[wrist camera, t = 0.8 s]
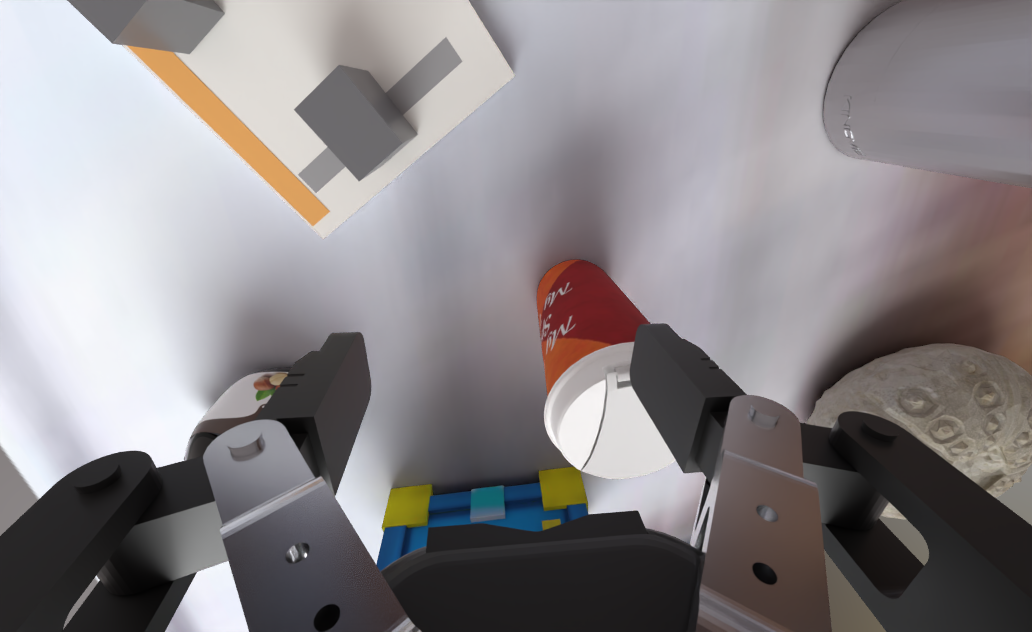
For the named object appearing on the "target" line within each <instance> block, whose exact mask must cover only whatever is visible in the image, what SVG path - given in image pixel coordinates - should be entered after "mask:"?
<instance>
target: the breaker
mask: <svg viewBox="0 0 1032 632" xmlns="http://www.w3.org/2000/svg"><path fill="white" fill-rule="evenodd" d="M68 1H69V2H70V3H71V4H72V5H73V6H74V7H75V8H76V9H77V10H78V11H79V12H80V13H81V14H82V15H83V16H84V17H85V18H86V19H87V20H88V21H89V22H91V23H92V24H93V25H94V26H95V27H96V28H97V29H98V30H99V31H100V32H101V33H102V34H103V35H104V36H105V37H106V38H107V39H108V40H109V41H110V42H111V43H112V44H120V45H127V46H134V47H141V48H148V49H155V50H163V51H170V52H177V53H184V54H190V53H191V52H192V51H193V50H194V49H195V48H196V47H197V45H198V44H199V43H200V42H201V41H202V40H203V38H204V37H205V36H206V35H207V34H208V33H209V32H210V30H211V29H212V28H213V27H214V26H215V25H216V24H217V22H218V21H219V20H220V19H221V18H222V17H223V15H224V14H225V13H224V12H223V10H222V9H221V8H220V7H219V6H218V5H217V4H216V3H215V1H214V0H68Z"/></svg>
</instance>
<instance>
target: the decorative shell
mask: <svg viewBox="0 0 1032 632" xmlns="http://www.w3.org/2000/svg"><path fill="white" fill-rule="evenodd" d="M847 411H858V412H864V413H869V414H873V415H876V416H879V417H882V418H884V419H886V420H889V421H891V422H893V423H895V424H897V425H899V426H900V427H902V428H904V429H905V430H906V431H908V432H909V433H911V434H912V435H913V436H914V437H916V438H917V439H918V440H920V441H921V442H922V443H924V444H925V445H926V446H928V447H929V448H930V449H932V450H933V451H934V452H936V453H937V454H938V455H939V456H941V457H942V458H943V459H945V460H946V461H947V462H949V463H950V464H951V465H953V466H954V467H955V468H957V469H958V470H959V471H960V472H962V473H963V474H964V475H966V476H967V477H968V478H970V479H971V480H972V481H974V482H975V483H976V484H978V485H979V486H980V487H982V488H983V489H984V490H985V491H987V492H988V493H989V494H991V495H992V496H993V497H995V498H996V497H998V496H1000V495H1001V494H1003V493H1004V492H1005V491H1007V490H1008V489H1009V488H1010V487H1012V486H1013V484H1014V483H1016V482H1021V476H1022V475H1024V474H1025V472H1026V471H1027V468H1028V467H1029V466H1030V465H1031V464H1032V376H1031V375H1030V374H1029V373H1028V372H1027V371H1025V370H1024V369H1023V368H1022V367H1020V366H1018V365H1017V364H1015V363H1014V362H1012V361H1010V360H1009V359H1007V358H1006V357H1004V356H1000V355H997V354H993V353H989V352H986V351H984V350H981V349H978V348H975V347H970V346H965V345H959V344H953V343H946V344H938V343H936V344H928V345H924V346H919V347H912V348H905V349H902V350H900V351H898V352H896V353H893V354H890V355H887V356H883V357H880V358H876V359H875V360H874V361H872V362H870V363H868V364H865V365H864V366H863V367H861V368H858V369H855V370H853V371H851V372H849V373H848V374H846V375H845V376H844V377H843V378H842V379H841V380H839V381H838V382H836V384H835V385H833V386H832V387H831V388H830V389H828V390H825V391H824V393H823V395H822V397H821V398H820V399H819V400H818V401H816V405H815V409H814V411H813V413H812V415H811V416H810V418H809V419H808V420H807V424H810V425H816V426H822V427H828V428H833V426H834V424H835V422H836V420H837V418H838V416H839V415H840V414H841V413H843V412H847ZM881 516H885V517H889V518H899V519H905V520H907V519H906V518H905V517H904V516H903V515H902V514H901V513H900V512H899V511H898V510H897V509H896V508H895V507H894V506H893V505H892V504H891V503H890V502H889V503H888V505H887V506H886V508H885V509H884V511H883V512H882V514H881Z"/></svg>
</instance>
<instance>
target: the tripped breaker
mask: <svg viewBox="0 0 1032 632" xmlns="http://www.w3.org/2000/svg"><path fill="white" fill-rule="evenodd" d="M294 111H295V112H296V113H297V114H298V115H299V116H300V117H301V118H302V119H303V120H304V122H305V123H306V124H307V125H308V126H309V127H310V128H311V129H312V130H313V131H314V133H315V134H316V135H317V136H318V137H319V138H320V139H321V140H322V141H323V142H324V144H325V145H326V146H327V147H328V148H329V149H330V150H331V151H332V152H333V153H334V155H335V156H336V157H337V158H338V159H339V160H340V161H341V162H342V163H343V164H344V165H345V167H346V168H347V169H348V170H349V171H350V172H351V173H352V174H353V175H354V176H355V178H356V179H357V180H358V181H361V180H362V179H364V178H365V177H367V176H368V175H370V174H371V173H373V172H374V171H376V170H377V169H378V168H380V167H381V166H383V165H384V164H385V163H386V162H387V161H388V160H390V159H391V158H392V157H393V156H394V155H395V154H396V153H398V152H399V151H400V150H401V149H402V148H403V147H404V146H406V145H407V144H408V143H409V142H410V141H411V140H413V139H414V138H415V137H416V136H417V135H418V134H417V132H416V131H415V130H414V128H413V127H412V126H411V125H410V123H409V122H408V121H407V120H406V118H405V117H404V116H403V114H402V113H401V112H400V111H399V109H398V108H397V107H396V106H395V104H394V103H393V102H392V100H391V99H390V98H389V97H388V95H387V94H386V93H385V92H384V90H383V89H382V88H381V86H380V85H379V84H378V83H377V81H376V80H375V79H374V78H373V76H372V75H371V74H370V72H369V71H367V70H362V69H357V68H352V67H348V66H343V65H338V66H337V67H336V68H335V69H334V70H333V71H332V72H331V73H330V74H329V75H328V76H327V77H326V78H325V79H324V80H323V81H322V82H321V83H320V84H319V85H318V86H317V87H316V88H315V89H314V90H313V91H312V92H311V93H310V94H309V95H308V96H307V97H306V98H305V99H304V100H303V101H302V102H301V103H300V104H299V105H298V106H297V107H296V108H295V109H294Z"/></svg>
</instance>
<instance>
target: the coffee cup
mask: <svg viewBox="0 0 1032 632" xmlns="http://www.w3.org/2000/svg"><path fill="white" fill-rule="evenodd" d="M537 309H538V319H539V328H540V337H541V345H542V354H543V362H544V370H545V378H546V387H547V395H548V397H547V400H546V403H545V409H544V423H545V427H546V431H547V433H548V435H549V437H550V439H551V441H552V442H553V443H554V445H555V446H556V447H557V448H558V449H559V450H560V451H561V452H562V454H563V456H564V457H565V458H566V459H567V460H568V462H569V463H571V464H572V465H573V466H574V467H575V468H577V469H578V470H580V471H582V472H585V473H588V474H591V475H594V476H598V477H601V478H607V479H627V478H635V477H639V476H644V475H648V474H651V473H654V472H657V471H659V470H661V469H663V468H665V467H667V466H668V465H670V464H672V463H673V462H675V461H676V459H675V458H674V456H673V455H672V453H671V451H670V450H669V448H668V446H667V445H666V443H665V441H664V440H663V438H662V436H661V435H660V433H659V431H658V430H657V428H656V426H655V425H654V423H653V421H652V420H651V418H650V416H649V415H648V413H647V411H646V410H645V408H644V406H643V405H642V403H641V401H640V400H639V398H638V396H637V395H636V393H635V391H634V390H633V388H632V385H631V381H630V364H631V359H632V353H633V348H634V342H635V336H636V331H637V328H638V327H639V325H641V324H650V323H649V322H648V320H647V319H646V318H645V317H644V316H643V315H642V314H641V312H640V311H639V310H638V309H637V308H636V307H635V305H634V304H633V303H632V302H631V301H630V300H629V299H628V298H627V296H626V295H625V294H624V293H623V292H622V291H621V290H620V288H619V287H618V286H617V285H616V284H615V283H614V282H613V281H612V280H611V278H610V277H609V276H608V275H607V274H606V273H605V272H604V271H603V270H602V269H601V268H599V267H598V266H597V265H595V264H593V263H591V262H589V261H585V260H568V261H564V262H562V263H559V264H557V265H555V266H554V267H552V268H551V269H550V270H549V271H548V272H547V273H546V274H545V275H544V276H543V278H542V280H541V281H540V284H539V287H538V291H537Z"/></svg>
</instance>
